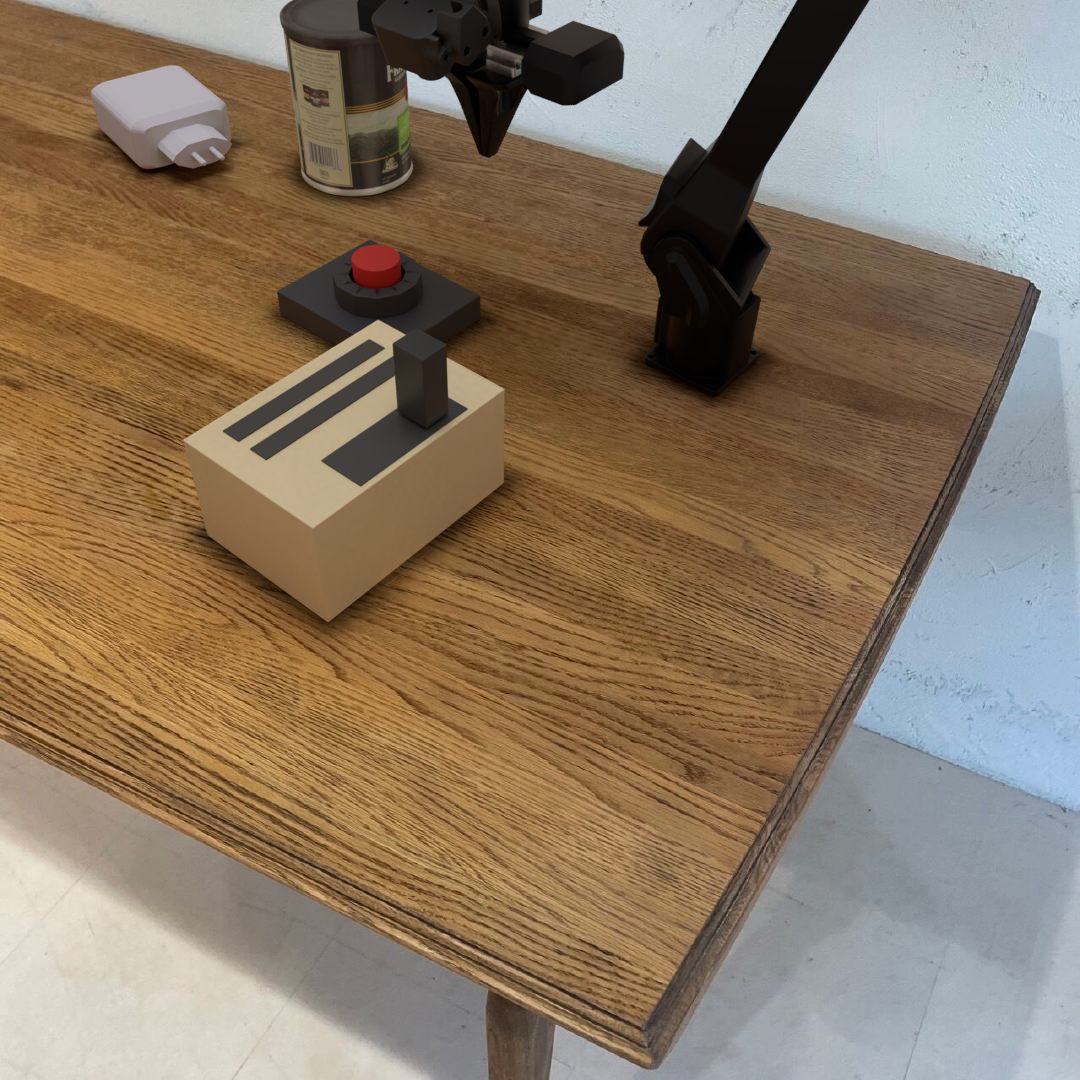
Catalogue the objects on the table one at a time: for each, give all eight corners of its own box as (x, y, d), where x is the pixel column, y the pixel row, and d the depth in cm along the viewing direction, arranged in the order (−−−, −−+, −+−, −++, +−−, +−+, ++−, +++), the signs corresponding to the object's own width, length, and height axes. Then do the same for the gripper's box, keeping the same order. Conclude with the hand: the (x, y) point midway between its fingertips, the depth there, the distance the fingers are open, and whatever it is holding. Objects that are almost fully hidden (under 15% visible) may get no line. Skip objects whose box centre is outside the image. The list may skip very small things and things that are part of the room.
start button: (411, 276, 86) (410, 256, 85) (377, 296, 84) (375, 276, 83) (377, 258, 88) (375, 238, 87) (343, 278, 86) (341, 258, 85)
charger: (170, 202, 100) (101, 134, 108) (264, 172, 104) (191, 109, 112) (158, 151, 96) (88, 85, 104) (257, 122, 100) (181, 61, 108)
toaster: (504, 483, 76) (505, 387, 70) (328, 623, 67) (312, 527, 62) (386, 413, 81) (377, 317, 75) (207, 535, 72) (181, 438, 66)
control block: (481, 318, 89) (480, 274, 86) (390, 378, 84) (387, 333, 81) (372, 262, 94) (368, 218, 91) (280, 314, 89) (272, 270, 86)
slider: (449, 412, 68) (446, 344, 65) (426, 428, 67) (422, 360, 63) (420, 395, 69) (416, 327, 66) (397, 411, 68) (391, 343, 65)
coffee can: (418, 144, 108) (410, -11, 98) (407, 200, 101) (397, 39, 91) (309, 139, 108) (291, -15, 98) (291, 195, 101) (268, 34, 91)
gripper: (281, -86, 69) (313, 155, 81) (519, -8, 61) (518, 246, 73) (407, -128, 76) (421, 101, 87) (637, -62, 68) (620, 180, 79)
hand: (488, 154), depth 81 cm, fingers closed
